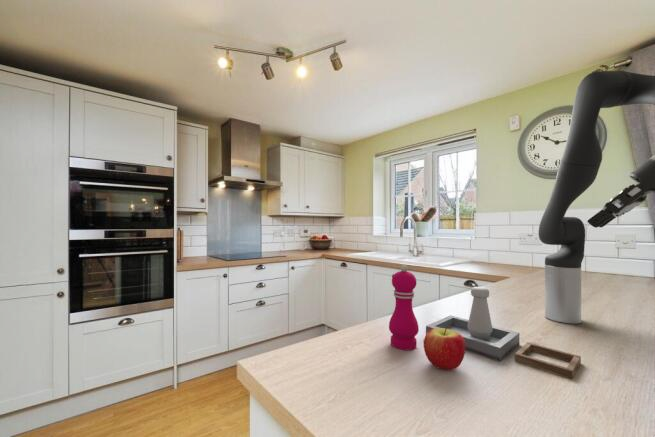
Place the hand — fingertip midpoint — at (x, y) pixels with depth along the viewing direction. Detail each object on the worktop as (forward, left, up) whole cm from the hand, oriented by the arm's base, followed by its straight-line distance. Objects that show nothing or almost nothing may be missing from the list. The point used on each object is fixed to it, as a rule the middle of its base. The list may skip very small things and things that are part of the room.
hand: (593, 224), depth 67 cm
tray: (+11, -23, -31) cm, 40 cm away
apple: (+30, -21, -31) cm, 48 cm away
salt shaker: (+9, -21, -30) cm, 38 cm away
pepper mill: (+27, -33, -31) cm, 52 cm away
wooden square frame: (+10, -7, -31) cm, 33 cm away
